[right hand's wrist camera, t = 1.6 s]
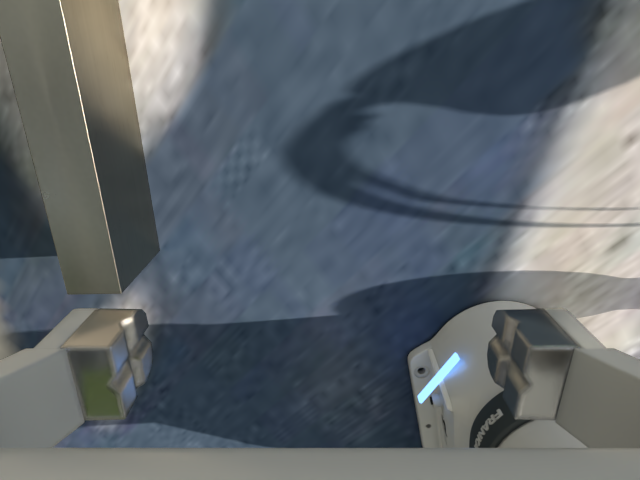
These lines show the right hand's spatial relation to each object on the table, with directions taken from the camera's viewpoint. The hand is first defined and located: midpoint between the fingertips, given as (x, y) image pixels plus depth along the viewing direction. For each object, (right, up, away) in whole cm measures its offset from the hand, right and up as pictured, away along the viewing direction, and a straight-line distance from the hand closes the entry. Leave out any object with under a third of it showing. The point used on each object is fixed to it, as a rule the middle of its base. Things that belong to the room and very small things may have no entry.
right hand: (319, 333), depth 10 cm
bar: (-18, +14, +28) cm, 36 cm away
